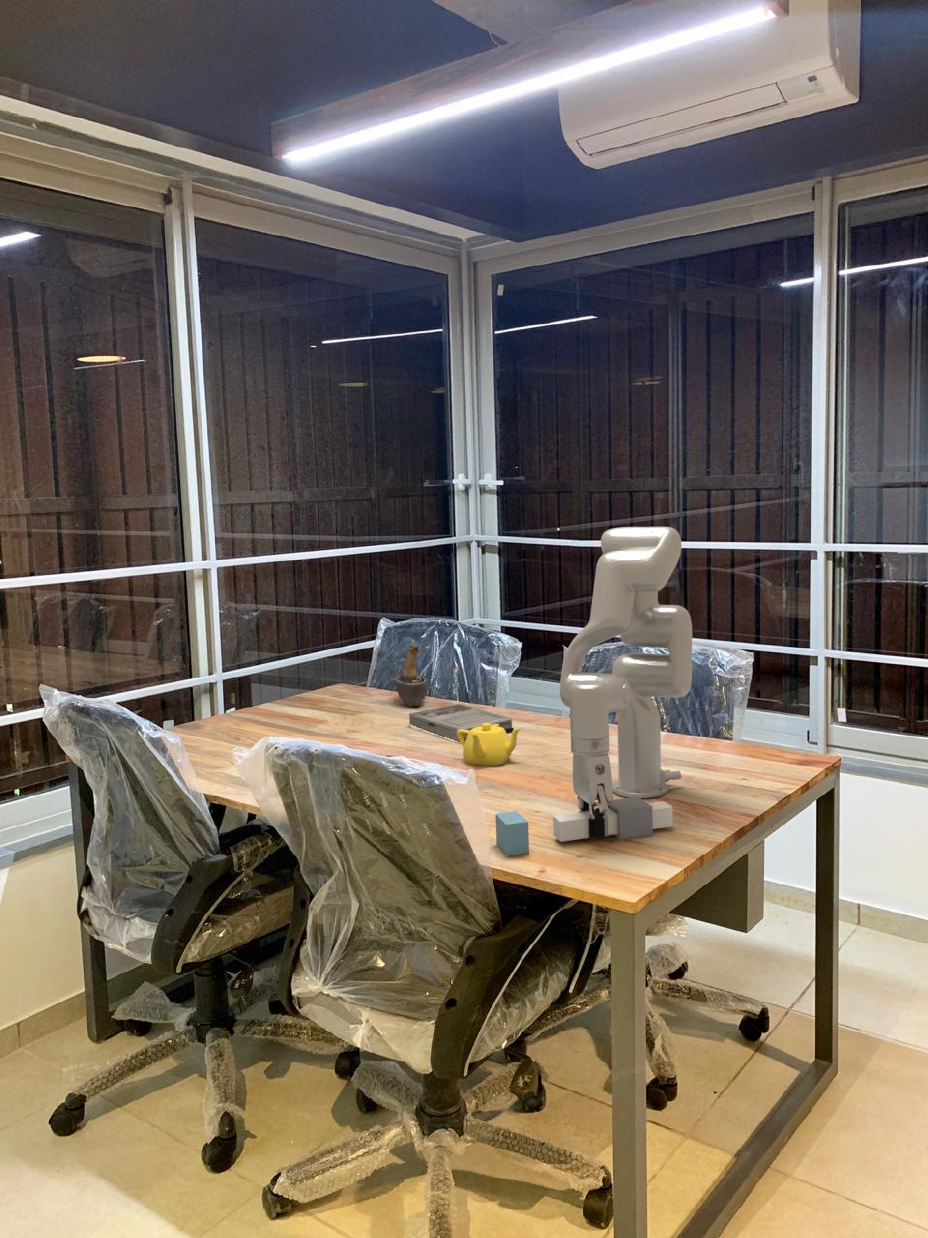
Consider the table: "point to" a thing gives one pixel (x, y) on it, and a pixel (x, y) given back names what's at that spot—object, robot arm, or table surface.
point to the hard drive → (456, 720)
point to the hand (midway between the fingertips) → (592, 832)
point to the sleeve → (632, 817)
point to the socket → (512, 833)
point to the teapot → (487, 744)
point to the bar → (578, 824)
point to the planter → (411, 680)
